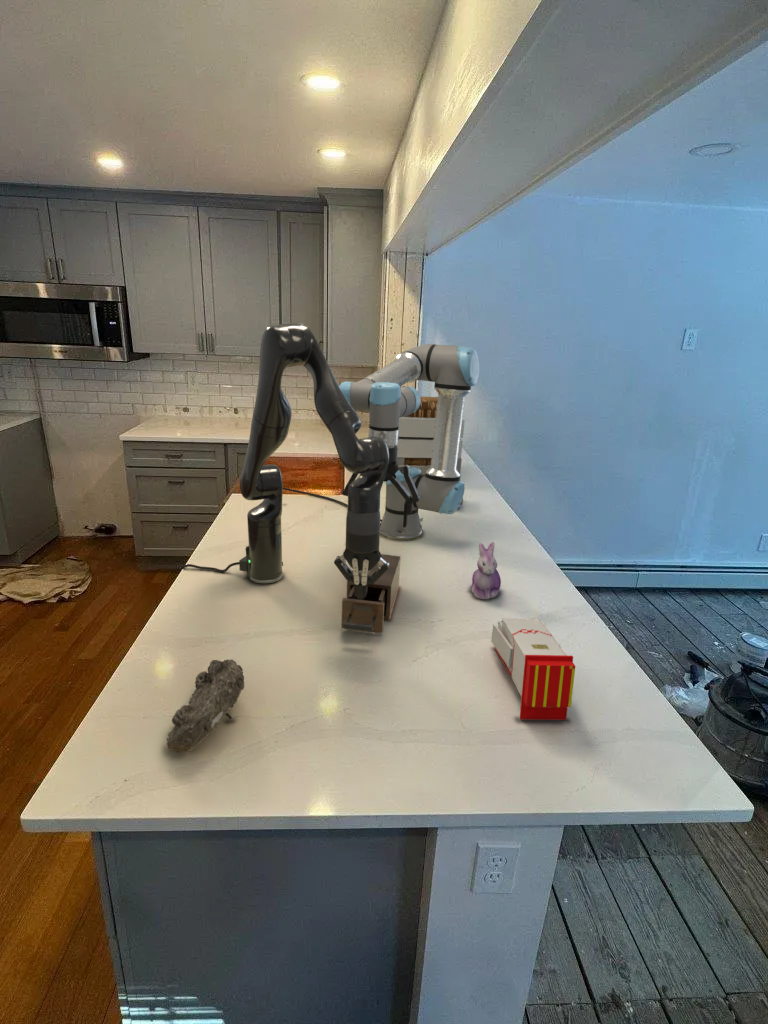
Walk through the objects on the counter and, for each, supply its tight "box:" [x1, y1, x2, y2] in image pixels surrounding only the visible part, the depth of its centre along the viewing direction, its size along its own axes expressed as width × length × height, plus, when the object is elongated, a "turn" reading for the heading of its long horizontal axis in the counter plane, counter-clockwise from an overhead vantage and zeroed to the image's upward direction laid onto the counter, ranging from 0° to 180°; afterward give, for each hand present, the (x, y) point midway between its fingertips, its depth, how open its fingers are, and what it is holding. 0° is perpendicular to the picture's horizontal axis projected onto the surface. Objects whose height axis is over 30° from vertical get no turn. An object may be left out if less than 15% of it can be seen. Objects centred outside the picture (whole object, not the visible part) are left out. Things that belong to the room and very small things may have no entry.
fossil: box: [166, 658, 245, 754], centre depth 106 cm, size 22×10×15 cm
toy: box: [490, 617, 576, 721], centre depth 122 cm, size 12×13×30 cm
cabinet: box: [346, 553, 401, 621], centre depth 152 cm, size 18×11×10 cm, turn 171°
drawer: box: [341, 585, 387, 634], centre depth 141 cm, size 23×10×8 cm, turn 171°
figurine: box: [470, 541, 502, 600], centre depth 158 cm, size 9×10×15 cm
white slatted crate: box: [396, 396, 465, 475], centre depth 268 cm, size 34×33×41 cm
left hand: (360, 597), depth 131 cm, fingers closed
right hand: (379, 523), depth 151 cm, fingers open, 13 cm apart
